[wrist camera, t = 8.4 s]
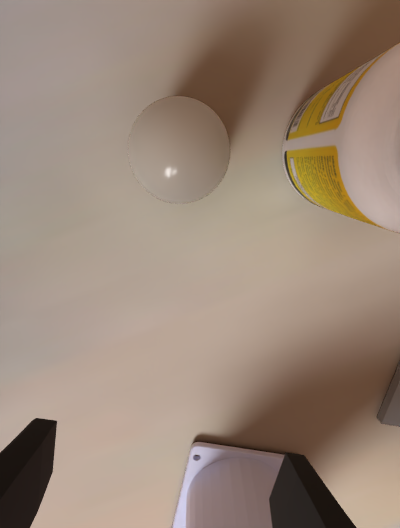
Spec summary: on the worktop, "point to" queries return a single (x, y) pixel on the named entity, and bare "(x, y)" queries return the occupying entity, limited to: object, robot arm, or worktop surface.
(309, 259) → the worktop surface
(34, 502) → the robot arm
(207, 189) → the white egg
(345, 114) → the pill bottle
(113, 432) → the worktop surface
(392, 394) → the slate coaster
